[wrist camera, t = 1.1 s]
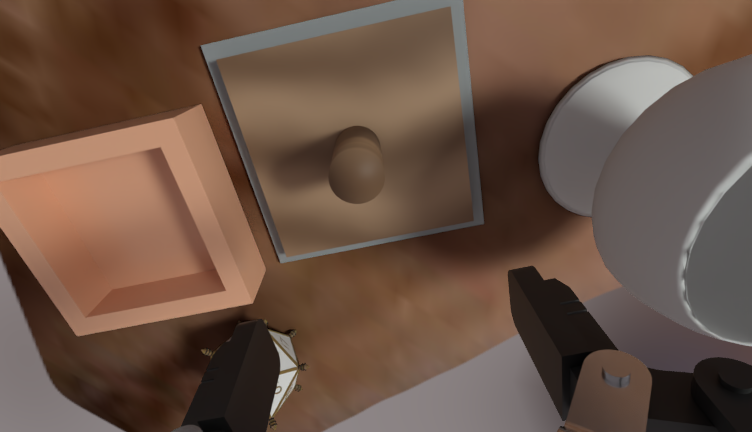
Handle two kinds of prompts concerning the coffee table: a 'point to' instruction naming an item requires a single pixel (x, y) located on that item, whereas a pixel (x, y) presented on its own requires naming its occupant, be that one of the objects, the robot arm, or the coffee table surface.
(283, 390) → the game die
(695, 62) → the coffee table surface
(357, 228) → the lid
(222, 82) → the mat
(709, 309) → the chalice
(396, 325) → the coffee table surface
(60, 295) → the pink square tray
